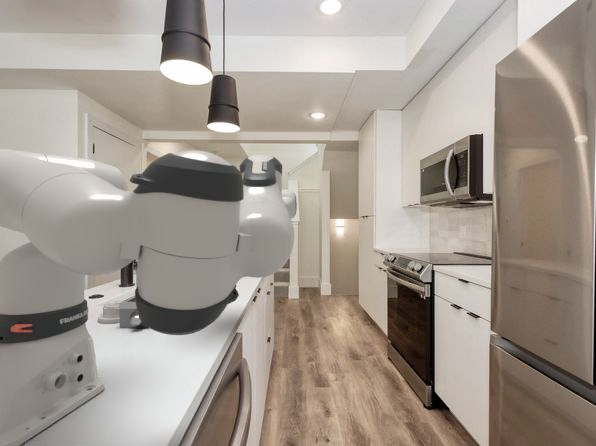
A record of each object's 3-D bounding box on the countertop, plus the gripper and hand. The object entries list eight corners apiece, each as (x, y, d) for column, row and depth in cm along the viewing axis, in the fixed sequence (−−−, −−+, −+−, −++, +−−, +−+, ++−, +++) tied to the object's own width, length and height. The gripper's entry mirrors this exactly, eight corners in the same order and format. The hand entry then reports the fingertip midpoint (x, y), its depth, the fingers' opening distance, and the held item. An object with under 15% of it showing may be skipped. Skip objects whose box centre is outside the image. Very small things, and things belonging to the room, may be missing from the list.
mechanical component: (89, 324, 88) (125, 324, 88) (89, 308, 88) (125, 308, 88) (111, 314, 98) (144, 313, 98) (111, 299, 98) (143, 299, 98)
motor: (156, 331, 81) (156, 305, 81) (113, 331, 81) (112, 306, 81) (177, 314, 95) (177, 293, 95) (140, 315, 95) (140, 293, 95)
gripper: (227, 216, 76) (169, 216, 76) (242, 216, 96) (196, 217, 96) (227, 189, 76) (168, 190, 76) (242, 195, 96) (196, 196, 96)
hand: (184, 205), depth 86 cm, fingers open, 8 cm apart
